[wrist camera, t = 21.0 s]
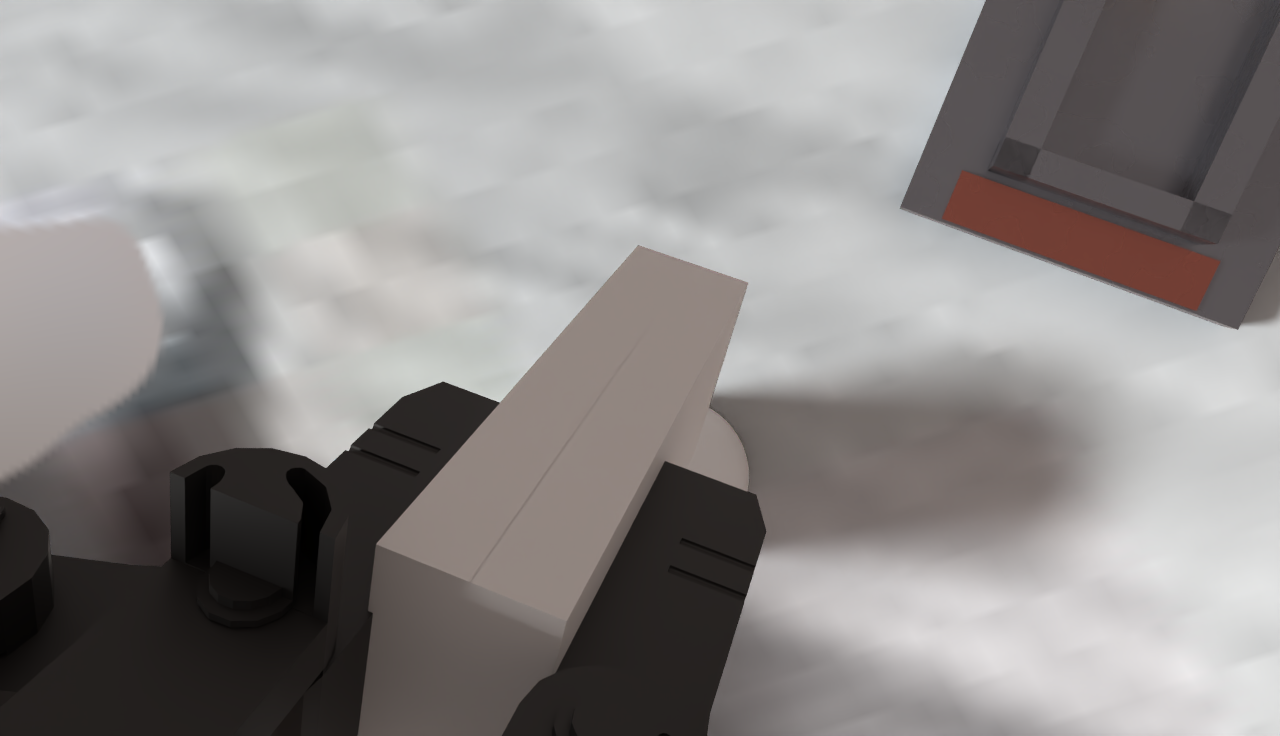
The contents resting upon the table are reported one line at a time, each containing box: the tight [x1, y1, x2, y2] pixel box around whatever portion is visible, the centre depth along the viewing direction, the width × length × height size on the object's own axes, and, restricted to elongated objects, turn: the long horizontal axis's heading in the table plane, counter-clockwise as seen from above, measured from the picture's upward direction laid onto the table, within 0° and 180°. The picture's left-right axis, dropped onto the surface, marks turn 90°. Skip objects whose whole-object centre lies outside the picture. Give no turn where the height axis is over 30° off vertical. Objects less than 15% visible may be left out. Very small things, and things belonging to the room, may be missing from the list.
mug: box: [687, 408, 749, 491], centre depth 35 cm, size 10×7×12 cm, turn 75°
